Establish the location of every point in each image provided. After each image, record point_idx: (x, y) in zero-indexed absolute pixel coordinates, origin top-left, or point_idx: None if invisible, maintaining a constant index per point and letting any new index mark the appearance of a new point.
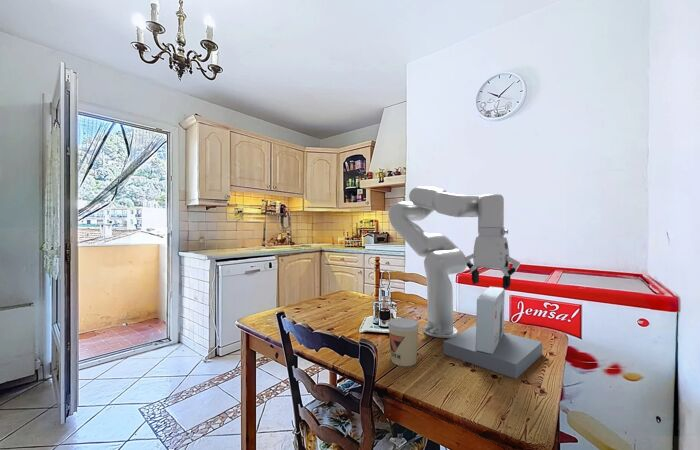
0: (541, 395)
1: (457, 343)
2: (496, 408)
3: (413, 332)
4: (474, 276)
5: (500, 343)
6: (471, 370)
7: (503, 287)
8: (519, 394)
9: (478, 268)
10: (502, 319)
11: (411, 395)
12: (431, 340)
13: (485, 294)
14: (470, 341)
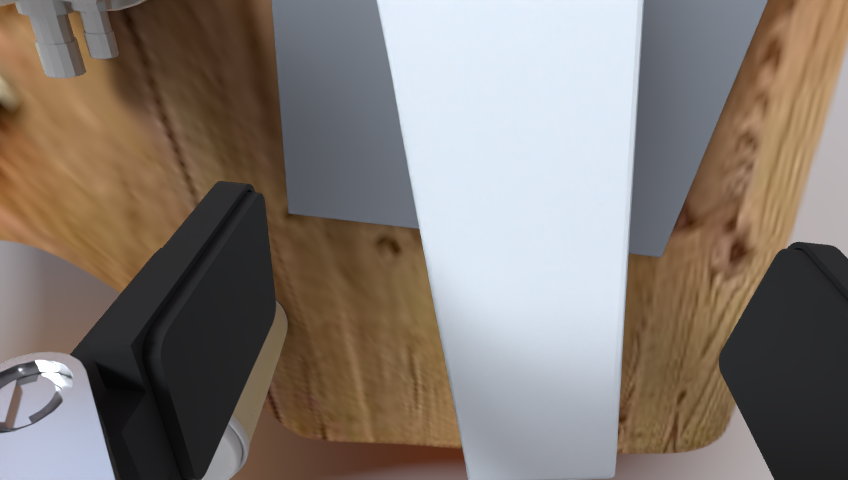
0: (732, 278)
1: (353, 194)
2: None
3: (250, 440)
4: (225, 411)
5: None
6: None
7: (732, 378)
8: (659, 308)
9: (105, 435)
10: None
11: (396, 441)
12: (151, 62)
13: (480, 330)
14: (393, 124)
